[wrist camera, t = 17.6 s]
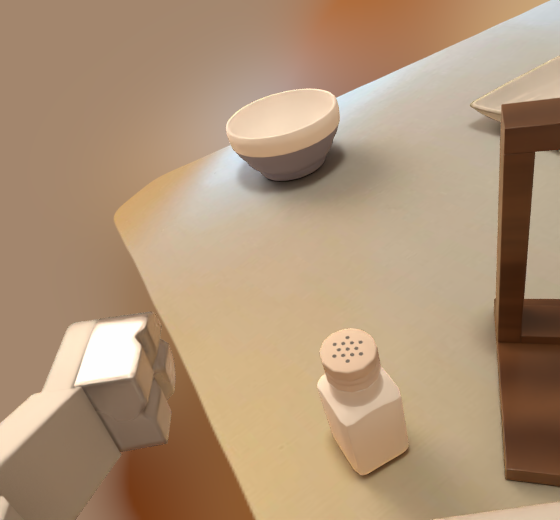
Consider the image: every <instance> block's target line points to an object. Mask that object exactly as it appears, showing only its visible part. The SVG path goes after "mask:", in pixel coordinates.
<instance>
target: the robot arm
mask: <svg viewBox="0 0 560 520" xmlns="http://www.w3.org/2000/svg"><path fill="white" fill-rule="evenodd" d="M161 328H162V326H161V324H160V322H159V320H158V318H157V316H156V314H155V313H153V312H146V313H138V314H131V315H123V316H116V317H109V318H102V319H99V320H90V321H83V322H75V323H73V324H72V325H70V326H69V327H68V328H67V330H66V333H65V335H64V338H63V340H62V343H61V345H60V347H59V350H58V352H57V355H56V357H55V360H54V362H53V365H52V367H51V370H50V372H49V375H48V377H47V380H46V382H45V384H44V387H43V390H42V392H41V393H37V394H32V395H31V396H30V397H29V398H28V399H27V400H26V401H25V402H24V403H22V404H21V405H20V406H19V407H18V408H17V409H16V410H15V411H13V412H12V413H11V414H10V415H9V416H8V417H7V418H6V419H4V420H3V421H2V422H1V423H0V520H76V518H77V517H78V516H79V514H80V512H81V511H82V510H83V508H84V507H85V506H86V504H87V502H88V501H89V500H90V499H91V497H92V496H93V494H94V493H95V491H96V490H97V489H98V487H99V486H100V484H101V483H102V481H103V480H104V478H105V477H106V476H107V474H108V473H109V472H110V470H111V469H112V467H113V466H114V464H115V463H116V461H117V460H118V459H119V457H120V456H121V453H120V452H123V451H129V450H135V449H140V448H146V447H152V446H157V445H163V444H167V442H168V435H169V427H170V419H171V410H170V408H169V405H168V403H167V400H168V399H169V397H170V396H171V395H172V394H173V393H174V388H175V365H174V359H173V355H172V352H171V349H170V346H169V344H168V343H167V342H165V341H163V340H162V339H160V334H161ZM432 520H560V501H559V502H552V503H545V504H538V505H531V506H524V507H517V508H509V509H502V510H495V511H488V512H481V513H474V514H467V515H460V516H453V517H446V518H439V519H432Z"/></svg>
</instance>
